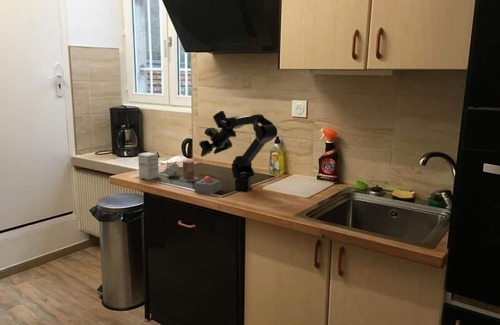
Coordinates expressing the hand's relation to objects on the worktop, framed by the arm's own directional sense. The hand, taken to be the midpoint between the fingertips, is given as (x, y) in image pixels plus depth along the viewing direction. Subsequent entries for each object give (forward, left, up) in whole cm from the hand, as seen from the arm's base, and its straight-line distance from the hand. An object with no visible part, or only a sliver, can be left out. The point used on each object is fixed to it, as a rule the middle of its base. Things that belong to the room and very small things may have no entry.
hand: (207, 154), depth 210 cm
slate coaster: (+9, +5, -13) cm, 16 cm away
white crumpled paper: (+20, +3, -13) cm, 24 cm away
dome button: (-10, +19, -12) cm, 25 cm away
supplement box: (+30, +10, -13) cm, 34 cm away
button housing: (-10, +19, -13) cm, 25 cm away
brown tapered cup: (+9, +5, -12) cm, 16 cm away
